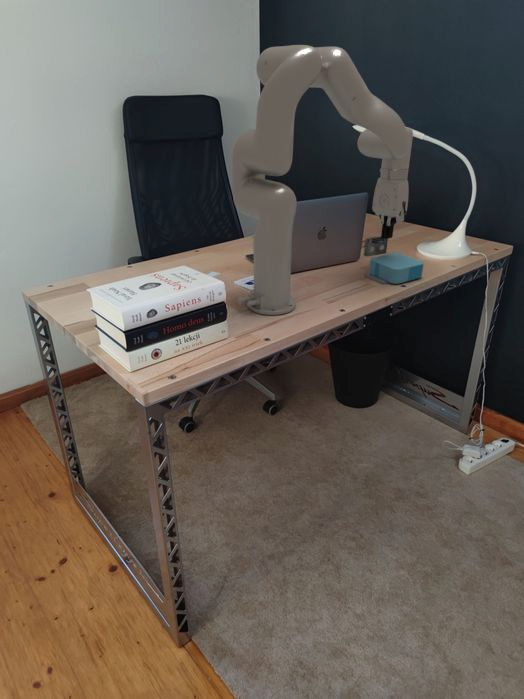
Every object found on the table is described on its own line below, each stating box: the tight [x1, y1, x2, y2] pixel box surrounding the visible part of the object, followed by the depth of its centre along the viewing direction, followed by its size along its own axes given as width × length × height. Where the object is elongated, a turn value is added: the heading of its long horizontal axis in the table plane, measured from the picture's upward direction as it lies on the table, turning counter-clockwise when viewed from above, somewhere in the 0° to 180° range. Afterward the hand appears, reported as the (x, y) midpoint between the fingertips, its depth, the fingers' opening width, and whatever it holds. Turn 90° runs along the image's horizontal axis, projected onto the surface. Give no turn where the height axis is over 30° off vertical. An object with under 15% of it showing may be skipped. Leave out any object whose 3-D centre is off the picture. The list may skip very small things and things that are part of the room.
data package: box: [368, 252, 424, 285], centre depth 152 cm, size 12×4×12 cm
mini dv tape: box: [363, 235, 389, 257], centre depth 171 cm, size 8×2×6 cm, turn 116°
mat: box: [364, 273, 391, 286], centre depth 154 cm, size 15×8×1 cm, turn 122°
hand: (386, 237), depth 153 cm, fingers closed
